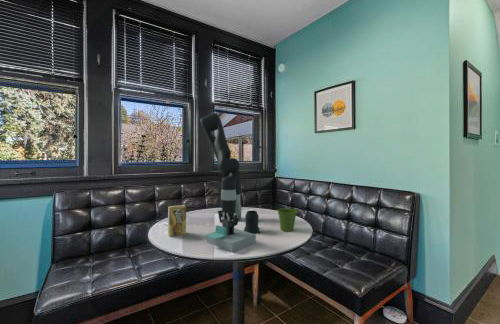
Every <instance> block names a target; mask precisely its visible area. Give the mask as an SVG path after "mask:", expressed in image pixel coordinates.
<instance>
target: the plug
mask: <svg viewBox="0 0 500 324" xmlns="http://www.w3.org/2000/svg"><path fill="white" fill-rule="evenodd" d="M221 219H222V218H221ZM230 220H232V219H230ZM231 223H232V222H231ZM221 226H222V227H225V228H227V236H229V235H232V234H229V227H230V225H229V221H228V219H222V223H221ZM233 234H234V233H233Z"/></svg>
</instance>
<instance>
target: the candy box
mask: <svg viewBox="0 0 500 324" xmlns="http://www.w3.org/2000/svg"><path fill="white" fill-rule="evenodd" d="M167 209H168V210H167V211H168V212H167V215H168V216H167V219H168V221H167V234H168V236H169V237H174V236H175V237H176V236H180V235H181V236H182V235H186V234H187V206H186V205H185V204H181V205H171V206H168V207H167Z"/></svg>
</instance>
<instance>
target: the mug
mask: <svg viewBox="0 0 500 324" xmlns="http://www.w3.org/2000/svg"><path fill="white" fill-rule="evenodd" d="M259 216H260V215H259V214H258V212H257V210H247V211H246V213H245V217H244V221H245V226H244V228H243V231H246V232H249V233H252V234H258V233H259V234H260V232H261V231H260V227H259Z"/></svg>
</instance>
